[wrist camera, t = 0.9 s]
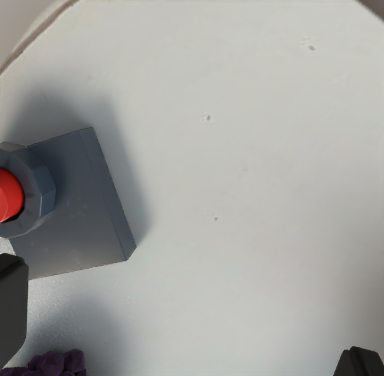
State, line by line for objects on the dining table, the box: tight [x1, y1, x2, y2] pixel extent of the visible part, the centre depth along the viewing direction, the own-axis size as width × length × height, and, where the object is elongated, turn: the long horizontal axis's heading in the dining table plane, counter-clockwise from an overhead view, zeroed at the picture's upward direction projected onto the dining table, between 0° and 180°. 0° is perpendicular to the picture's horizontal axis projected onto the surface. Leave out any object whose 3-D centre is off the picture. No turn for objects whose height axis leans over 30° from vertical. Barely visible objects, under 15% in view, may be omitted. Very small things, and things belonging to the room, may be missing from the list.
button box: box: [0, 127, 136, 280], centre depth 25 cm, size 11×10×4 cm
